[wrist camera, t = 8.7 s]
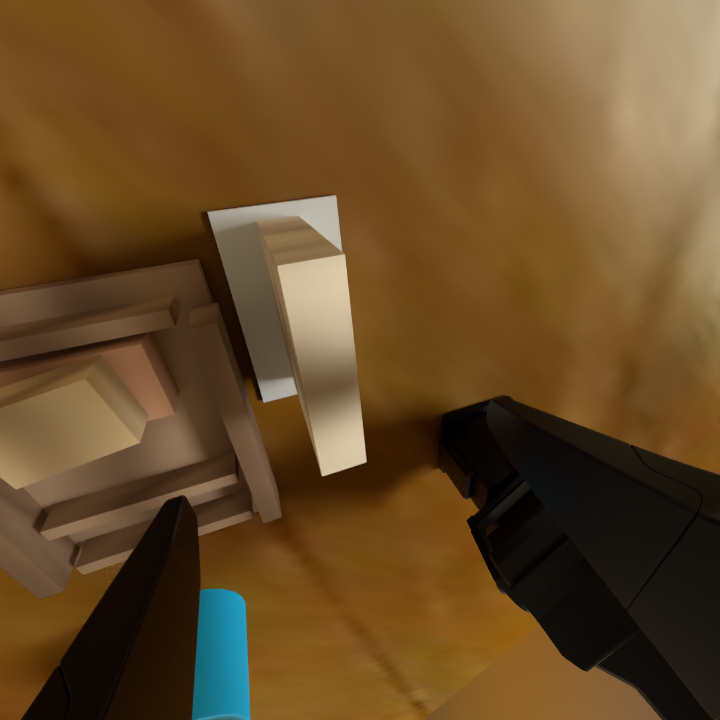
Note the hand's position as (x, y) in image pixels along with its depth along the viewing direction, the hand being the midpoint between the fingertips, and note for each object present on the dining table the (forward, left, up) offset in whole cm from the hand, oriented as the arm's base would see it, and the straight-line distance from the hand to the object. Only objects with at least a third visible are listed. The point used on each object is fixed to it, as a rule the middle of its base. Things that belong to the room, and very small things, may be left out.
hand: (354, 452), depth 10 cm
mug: (+14, +29, -12) cm, 34 cm away
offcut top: (+11, +1, -9) cm, 14 cm away
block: (0, 0, -11) cm, 11 cm away
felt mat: (0, 0, -12) cm, 12 cm away
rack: (+10, +6, -12) cm, 16 cm away
